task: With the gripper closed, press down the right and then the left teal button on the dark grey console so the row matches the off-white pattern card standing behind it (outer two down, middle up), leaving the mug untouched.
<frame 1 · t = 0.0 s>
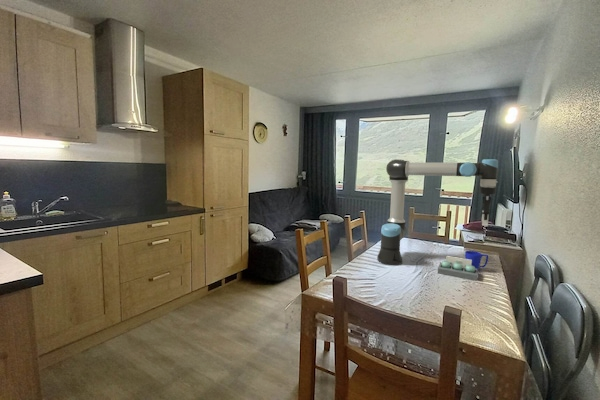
hand: (484, 223, 159), 28 cm above the table, fingers open, 13 cm apart
console: (457, 273, 158), on the table
button left: (445, 264, 160), point 4 cm above the table, slide at 0.0 cm
button right: (470, 268, 154), point 4 cm above the table, slide at 0.0 cm
mug: (475, 269, 164), on the table
pattern card: (457, 269, 164), on the table
button middle: (457, 266, 157), point 4 cm above the table, slide at 0.0 cm
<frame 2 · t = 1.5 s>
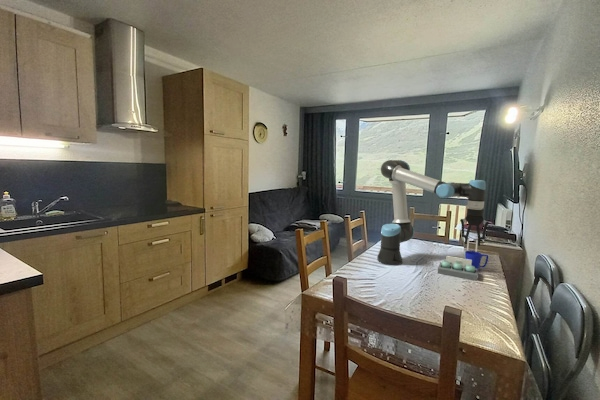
hand: (471, 250, 153), 15 cm above the table, fingers open, 3 cm apart
nothing on the table moved.
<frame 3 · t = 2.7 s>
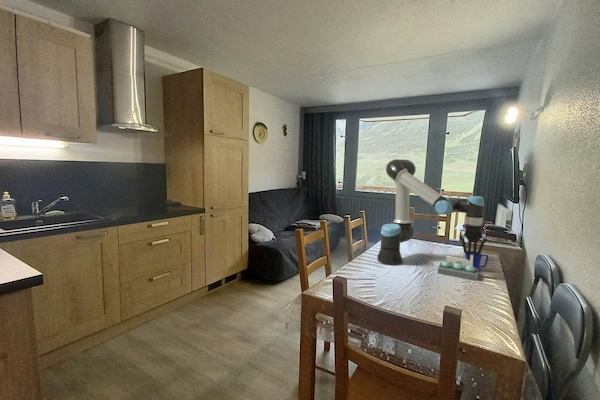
hand: (470, 266, 154), 6 cm above the table, fingers closed
button right: (470, 269, 154), point 4 cm above the table, slide at 0.1 cm, touching gripper
everything else where it was.
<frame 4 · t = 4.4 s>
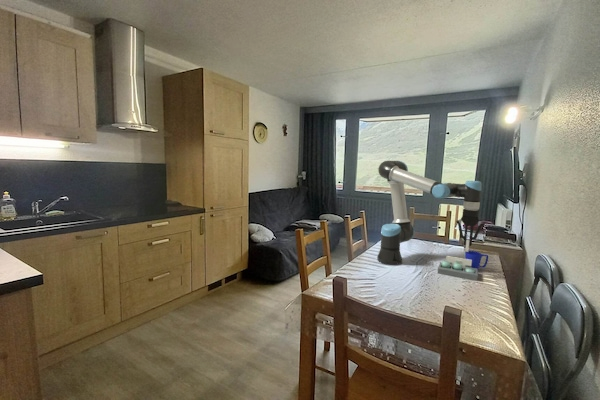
hand: (466, 250, 154), 14 cm above the table, fingers closed
button right: (469, 272, 154), point 2 cm above the table, slide at 2.0 cm
everything else where it was.
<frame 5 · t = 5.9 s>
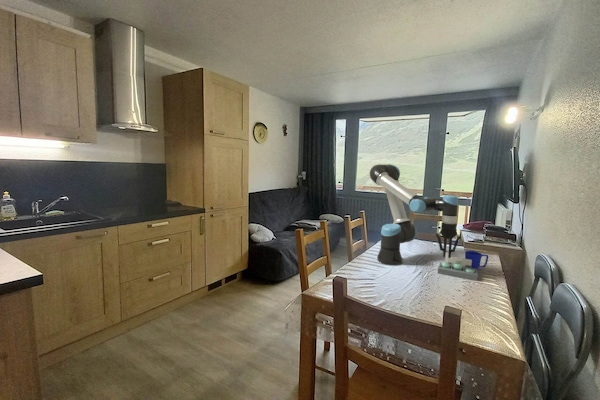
hand: (446, 262, 160), 5 cm above the table, fingers closed
button left: (445, 265, 160), point 3 cm above the table, slide at 0.5 cm, touching gripper
everything else where it was.
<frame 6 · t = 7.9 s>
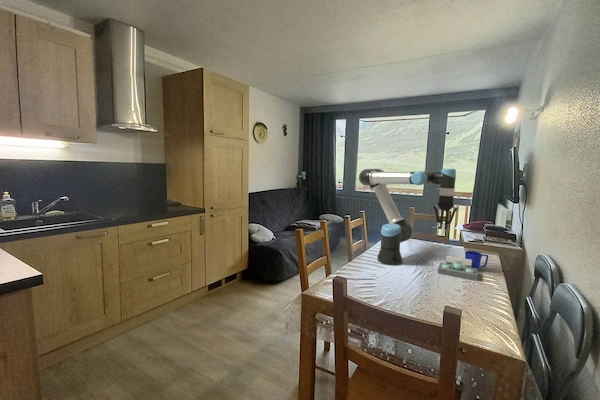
hand: (442, 234, 165), 20 cm above the table, fingers closed
button left: (445, 268, 161), point 2 cm above the table, slide at 2.0 cm
everything else where it was.
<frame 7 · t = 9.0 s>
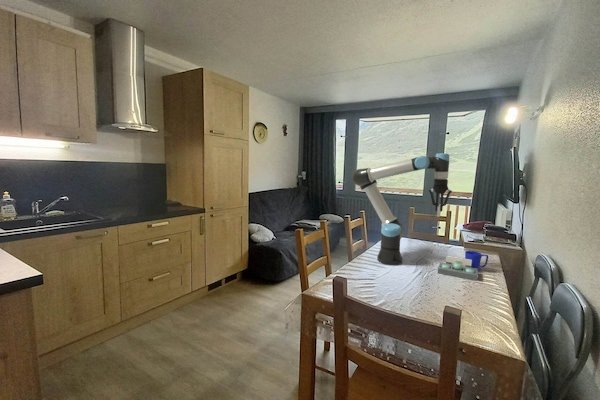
hand: (438, 216, 174), 29 cm above the table, fingers closed
nothing on the table moved.
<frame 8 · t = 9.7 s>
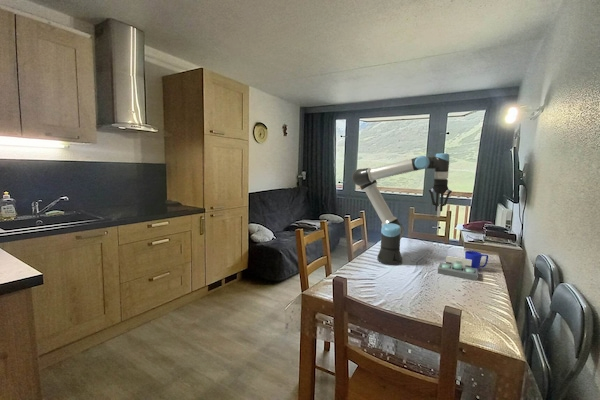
hand: (438, 216, 174), 29 cm above the table, fingers closed
nothing on the table moved.
at the end: button right slide at 2.0 cm; button left slide at 2.0 cm; button middle slide at 0.0 cm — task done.
